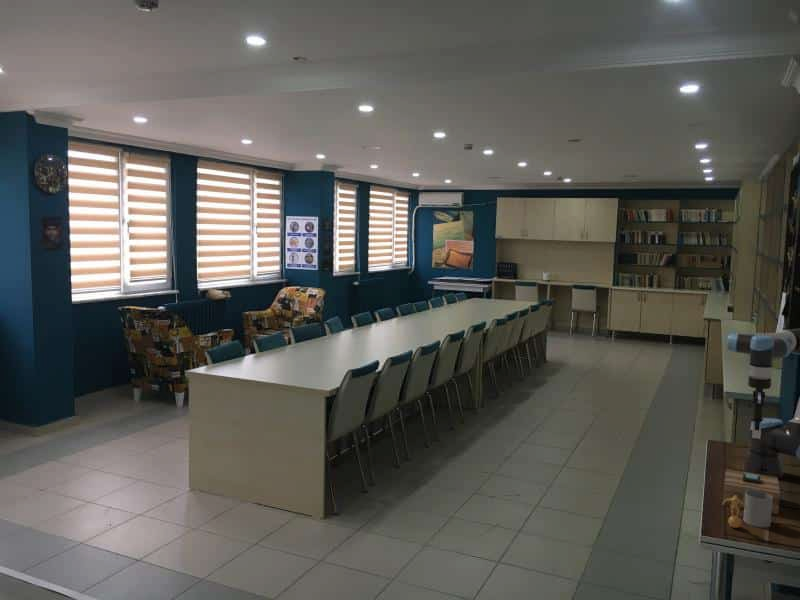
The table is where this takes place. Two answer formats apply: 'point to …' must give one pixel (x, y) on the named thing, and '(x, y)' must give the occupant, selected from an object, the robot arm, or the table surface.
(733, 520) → the figurine
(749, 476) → the peg
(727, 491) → the socket block
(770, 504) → the cup
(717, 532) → the table surface
